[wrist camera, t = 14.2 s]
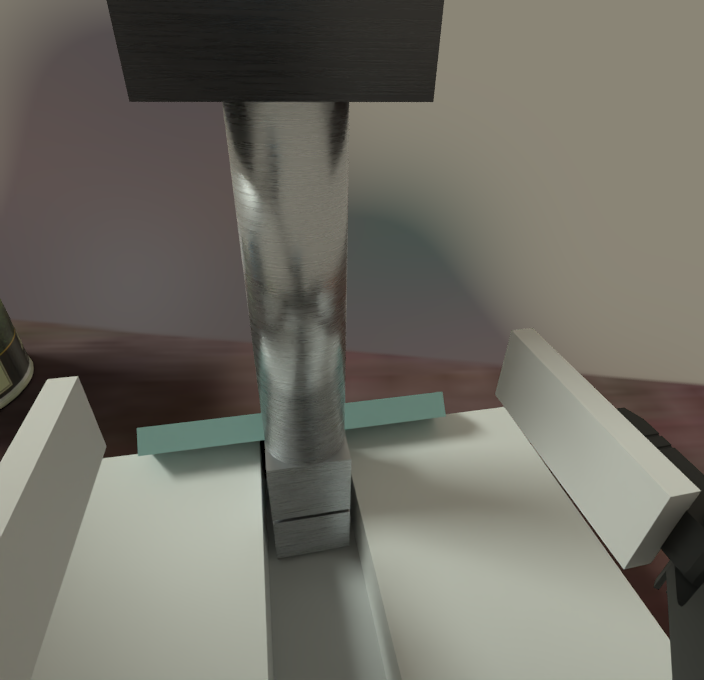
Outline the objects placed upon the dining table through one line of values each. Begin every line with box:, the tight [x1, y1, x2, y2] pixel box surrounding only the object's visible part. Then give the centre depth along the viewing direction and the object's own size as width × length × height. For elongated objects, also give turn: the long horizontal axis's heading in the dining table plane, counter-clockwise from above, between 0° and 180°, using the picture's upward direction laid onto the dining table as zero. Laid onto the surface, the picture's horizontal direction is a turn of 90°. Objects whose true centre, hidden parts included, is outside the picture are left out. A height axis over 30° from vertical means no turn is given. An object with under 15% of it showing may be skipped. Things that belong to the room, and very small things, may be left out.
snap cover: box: [137, 392, 446, 456], centre depth 24 cm, size 14×8×1 cm
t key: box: [107, 0, 444, 559], centre depth 16 cm, size 7×3×20 cm, turn 101°
